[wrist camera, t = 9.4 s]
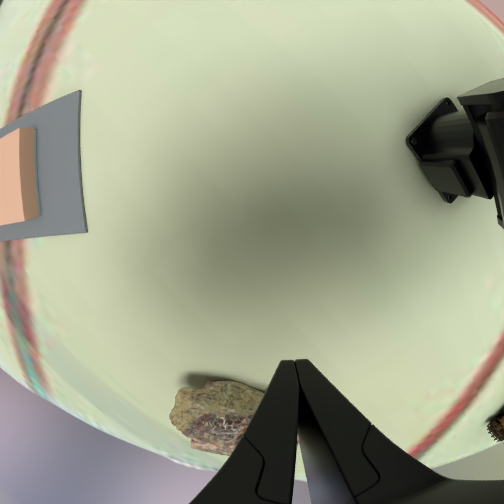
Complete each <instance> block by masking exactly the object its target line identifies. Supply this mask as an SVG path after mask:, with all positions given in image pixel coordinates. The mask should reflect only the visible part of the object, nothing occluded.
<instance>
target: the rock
mask: <svg viewBox="0 0 504 504" xmlns="http://www.w3.org/2000/svg"><path fill="white" fill-rule="evenodd" d="M264 394H265V393H263V392H261V391H258V390H256V389H254V388H252V387H249V386H247V385H244V384H242V383H240V382H235V381H226V380H224V381H216V382H212V381H208V382H207V383H206V385H205V386H204V387H203V388H202V389H193V388H188V387H183V388H181V389H180V390H179V391H178V393H177V395H176V397H175V399H176V400H175V406H174V408H173V409H172V410H171V413H170V420H171V422H172V424H173V425H175V426H176V428H177V430H180V431H181V432H182V434H184V435H185V436H186V437H188V438H190V439H191V441H190V443H191V447H192V448H194V449H198V450H201V451H204V452H210V453H215V454H220V455H228V456H230V455H231V453H232V452H233V450H234V449H235V447H236V445H237V443H238V442H239V440H240V438H241V437H243V436H242V435H243V433H244V431H245V430H246V428H247V426H248V424H249V422H250V420H251V418H252V417H253V415H254V413H255V411H256V409H257V407H258V405H259V403H260V401H261V399H262V397H263V395H264ZM298 443H299V438H298V435H297V446H298Z"/></svg>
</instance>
